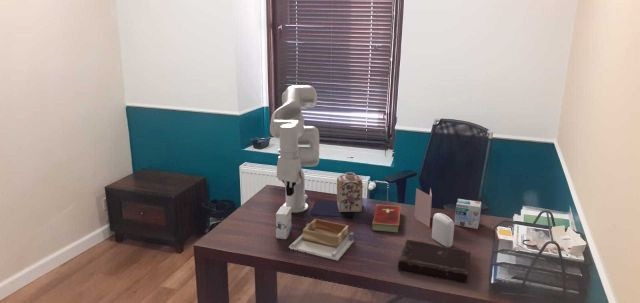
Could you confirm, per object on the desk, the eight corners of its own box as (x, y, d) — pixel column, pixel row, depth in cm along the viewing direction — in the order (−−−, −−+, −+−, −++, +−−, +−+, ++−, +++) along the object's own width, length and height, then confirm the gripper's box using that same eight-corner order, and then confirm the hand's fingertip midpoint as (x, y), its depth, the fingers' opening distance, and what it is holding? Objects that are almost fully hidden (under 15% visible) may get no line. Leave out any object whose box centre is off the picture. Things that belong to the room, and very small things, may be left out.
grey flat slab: (307, 231, 202) (307, 223, 200) (353, 241, 192) (353, 233, 191) (288, 248, 187) (288, 239, 186) (337, 260, 178) (337, 251, 177)
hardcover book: (371, 231, 203) (371, 222, 202) (375, 211, 222) (376, 203, 221) (398, 233, 200) (398, 225, 199) (400, 213, 220) (400, 205, 219)
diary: (466, 286, 163) (468, 274, 161) (397, 272, 171) (398, 261, 169) (469, 259, 179) (470, 248, 178) (406, 248, 188) (407, 238, 186)
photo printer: (430, 237, 196) (432, 211, 192) (437, 235, 198) (440, 209, 194) (446, 248, 187) (448, 221, 183) (454, 246, 189) (456, 219, 185)
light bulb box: (453, 225, 207) (455, 203, 204) (455, 219, 213) (457, 198, 210) (478, 229, 203) (480, 207, 200) (479, 223, 209) (481, 201, 206)
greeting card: (431, 227, 205) (433, 196, 201) (414, 226, 206) (416, 195, 202) (430, 216, 216) (432, 187, 211) (414, 215, 217) (416, 186, 213)
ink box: (281, 229, 203) (280, 205, 200) (292, 230, 202) (291, 206, 199) (275, 238, 195) (274, 213, 192) (287, 239, 194) (286, 214, 191)
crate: (315, 228, 201) (315, 218, 200) (348, 236, 195) (348, 225, 193) (302, 240, 191) (302, 229, 190) (337, 248, 185) (337, 237, 183)
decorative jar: (359, 202, 232) (360, 169, 227) (362, 212, 221) (363, 177, 216) (336, 203, 232) (336, 169, 226) (338, 212, 220) (338, 178, 215)
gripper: (269, 153, 188) (270, 194, 193) (299, 159, 181) (300, 201, 186) (279, 149, 194) (280, 188, 199) (309, 154, 187) (309, 195, 192)
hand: (290, 194), depth 193 cm, fingers closed
